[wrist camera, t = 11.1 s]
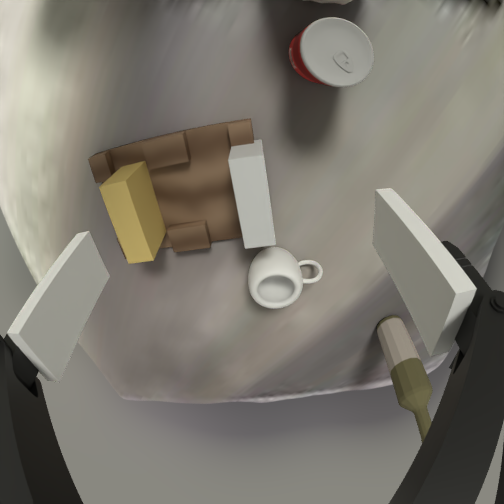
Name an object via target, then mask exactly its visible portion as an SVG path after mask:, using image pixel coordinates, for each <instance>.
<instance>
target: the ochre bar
mask: <svg viewBox="0 0 504 504" xmlns="http://www.w3.org/2000/svg"><path fill="white" fill-rule="evenodd" d="M99 188H100V191H101V194H102V197H103V200H104V202H105V205H106V208H107V211H108V213H109V216H110V218H111V221H112V224H113V226H114V229H115V231H116V234H117V236H118V239H119V241H120V244H121V246H122V248H123V251H124V253H125V256H126V258H127V260H128V263H129V264H131V263H138V262H146V261H154V259H155V256H156V254H157V252H158V249H159V247H160V245H161V243H162V240H163V238H164V236H165V234H166V228H165V225H164V222H163V219H162V215H161V212H160V209H159V206H158V202H157V199H156V196H155V193H154V189H153V186H152V182H151V179H150V176H149V172H148V169H147V165H146V161H142V162H138V163H134V164H130V165H126V166H123V167H121V168H120V169H119V170H117V171H116V172H115V173H114V174H113V175H112V176H111V177H110V178H109V179H108V180H106V181H105V182H104V183H103V184H102V185H101V186H100V187H99Z"/></svg>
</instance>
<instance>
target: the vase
mask: <svg viewBox="0 0 504 504" xmlns="http://www.w3.org/2000/svg"><path fill="white" fill-rule="evenodd" d="M303 1H306V0H303ZM310 1H315V2H318V3H338V4H341V5H345V4H347V3H349V2H351V1H353V0H310Z"/></svg>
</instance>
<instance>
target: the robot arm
mask: <svg viewBox="0 0 504 504" xmlns="http://www.w3.org/2000/svg"><path fill="white" fill-rule="evenodd" d="M373 246H374V247H375V249H376V251H377V252H378V254H379V256H380V258H381V259H382V261H383V263H384V265H385V267H386V268H387V270H388V272H389V274H390V276H391V278H392V279H393V281H394V283H395V285H396V287H397V289H398V291H399V293H400V295H401V297H402V299H403V300H404V302H405V304H406V306H407V308H408V310H409V312H410V314H411V316H412V318H413V321H414V323H415V325H416V327H417V329H418V331H419V333H420V335H421V337H422V340H423V342H424V344H425V346H426V348H427V351H428V353H429V355H430V357H432V356H436V355H439V354H443V353H446V352H449V351H450V349H451V347H452V345H453V343H454V341H455V340H456V342H457V344H458V346H459V348H460V349H459V351H458V352H457V354H456V356H455V358H454V360H453V362H452V364H451V365H450V367H449V368H451V369H452V370H451V374H450V377H449V379H448V382H447V385H446V388H445V391H444V394H443V396H442V399H441V402H440V404H439V407H438V409H437V412H436V414H435V416H434V419H433V421H432V423H431V426H430V428H429V430H428V432H427V435H426V437H425V439H424V441H423V443H422V445H421V447H420V450H419V451H418V454H417V455H416V457H415V459H414V461H413V463H412V465H411V467H410V469H409V471H408V472H407V474H406V476H405V478H404V479H403V481H402V483H401V485H400V486H399V488H398V490H397V491H396V493H395V495H394V496H393V498H392V499H391V501H390V503H389V504H475V501H476V499H477V497H478V495H479V492H480V490H481V488H482V485H483V483H484V480H485V478H486V475H487V472H488V470H489V467H490V464H491V461H492V458H493V455H494V452H495V449H496V446H497V442H498V439H499V435H500V431H501V428H502V424H503V420H504V292H501V291H497V290H493V291H492V290H491V288H490V287H489V286H488V285H487V283H486V282H485V281H484V279H483V278H482V277H481V275H480V274H479V273H478V271H477V270H476V269H475V268H474V266H472V265H471V263H470V262H469V260H468V259H466V258H465V255H464V254H463V253H462V252H461V251H460V250H459V248H457V247H456V246H454V245H453V244H451V243H450V242H448V241H443V242H440V241H439V240H438V238H437V237H436V236H435V235H434V234H433V233H432V231H431V230H430V229H429V228H428V227H427V226H426V225H425V223H424V222H423V221H422V220H421V219H420V218H419V217H418V216H417V215H416V213H415V212H414V211H413V210H412V209H411V208H410V207H409V206H408V205H407V204H406V203H405V202H404V201H403V200H402V199H401V198H400V197H399V195H398V194H397V193H396V192H395V191H394V190H393V189H392V188H388V189H376V190H375V214H374V230H373ZM109 277H110V275H109V273H108V271H107V269H106V267H105V265H104V263H103V261H102V259H101V257H100V254H99V252H98V250H97V248H96V246H95V243H94V241H93V239H92V236H91V234H90V232H89V231H87V232H82V233H77V234H76V236H75V237H74V238H73V239H72V241H71V242H70V243H69V244H68V246H67V247H66V248H65V249H64V251H63V252H62V253H61V254H60V256H59V257H58V258H57V260H56V261H55V262H54V264H53V265H52V266H51V268H50V269H49V270H48V272H47V273H46V274H45V276H44V277H43V279H42V280H41V281H40V283H39V284H38V286H37V287H36V288H35V290H34V291H33V293H32V294H31V296H30V297H29V299H28V300H27V302H26V303H25V305H24V306H23V308H22V309H21V311H20V312H19V314H18V316H17V317H16V319H15V320H14V322H13V324H12V325H11V327H10V328H9V330H8V332H7V334H6V336H5V338H4V339H3V338H2V336H1V335H0V504H83V502H82V500H81V498H80V496H79V494H78V492H77V489H76V487H75V485H74V483H73V480H72V478H71V475H70V473H69V471H68V468H67V466H66V463H65V461H64V458H63V455H62V453H61V450H60V447H59V445H58V441H57V439H56V436H55V432H54V429H53V426H52V423H51V419H50V416H49V413H48V409H47V405H46V401H45V398H44V394H43V389H42V385H41V382H40V380H39V379H38V378H37V377H36V376H37V374H38V372H40V373H41V374H42V375H43V376H44V377H45V379H47V380H48V381H55V382H60V381H61V378H62V376H63V374H64V371H65V369H66V366H67V364H68V362H69V359H70V357H71V355H72V352H73V350H74V348H75V346H76V343H77V341H78V339H79V337H80V335H81V333H82V330H83V328H84V326H85V324H86V322H87V320H88V318H89V316H90V314H91V312H92V310H93V308H94V306H95V304H96V302H97V300H98V298H99V296H100V294H101V292H102V290H103V288H104V286H105V284H106V283H107V281H108V279H109ZM495 504H504V444H503V455H502V464H501V472H500V478H499V484H498V490H497V495H496V500H495Z"/></svg>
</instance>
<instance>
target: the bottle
mask: <svg viewBox="0 0 504 504" xmlns="http://www.w3.org/2000/svg"><path fill="white" fill-rule="evenodd" d="M377 334H378V337H379V340H380V343H381V346H382V350H383V353H384V356H385V359H386V362H387V365H388V369H389V372H390V375H391V378H392V382H393V385H394V389H395V392H396V395H397V399H398V403H399V405H400V406H401V407H403V408H405V409H407V410H409V411H412V412H413V413H414V415H415V418H416V421H417V425H418V428H419V431H420V435H421V439H422V440H421V441H422V443H423V441H424V439H425V437H426V435H427V432H428V430H429V428H430V426H431V423H432V422H431V419H430V416H429V413H428V410H427V404H428V402H429V399H430V396H431V394H432V386H431V383H430V381H429V379H428V376H427V374H426V371H425V369H424V367H423V364H422V362H421V360H420V357H419V355H418V353H417V351H416V349H415V346H414V344H413V342H412V340H411V338H410V336H409V333H408V331H407V329H406V327H405V325H404V323H403V321H402V320H401V319H400V318H399V317H398V316H393V315H392V316H389V317H386V318H384V319H383V320H382V321H380V322H379V324H378V326H377Z"/></svg>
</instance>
